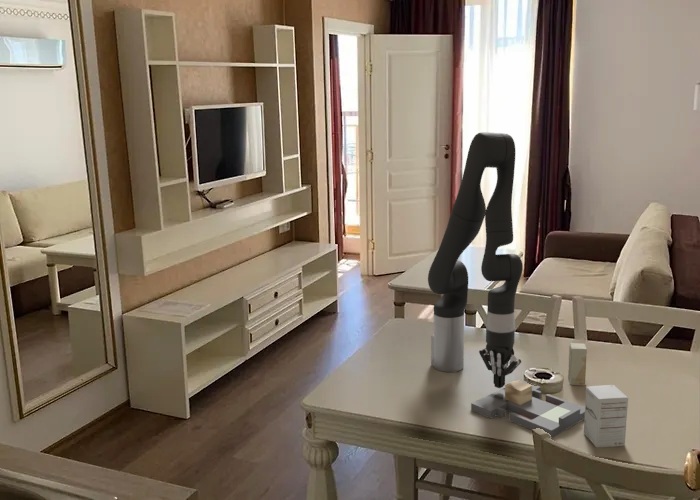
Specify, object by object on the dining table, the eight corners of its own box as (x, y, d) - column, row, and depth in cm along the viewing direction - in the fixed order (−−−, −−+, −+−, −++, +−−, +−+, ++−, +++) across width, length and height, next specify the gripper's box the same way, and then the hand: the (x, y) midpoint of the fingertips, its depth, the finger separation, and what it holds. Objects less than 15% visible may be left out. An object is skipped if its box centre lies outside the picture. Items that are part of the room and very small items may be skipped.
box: (585, 386, 197) (587, 349, 195) (569, 385, 198) (571, 348, 195) (583, 378, 202) (584, 343, 200) (567, 377, 203) (569, 342, 200)
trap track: (471, 410, 184) (471, 398, 183) (521, 386, 198) (521, 375, 197) (545, 441, 167) (545, 428, 166) (594, 413, 181) (595, 400, 180)
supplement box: (582, 433, 170) (585, 385, 168) (611, 431, 171) (614, 383, 168) (595, 448, 163) (598, 398, 160) (625, 446, 164) (629, 396, 161)
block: (504, 399, 186) (505, 385, 185) (516, 393, 189) (516, 379, 188) (520, 405, 182) (520, 390, 181) (531, 399, 185) (532, 385, 184)
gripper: (529, 329, 183) (527, 390, 187) (489, 318, 193) (488, 376, 197) (512, 336, 179) (510, 398, 182) (472, 324, 188) (471, 383, 192)
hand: (499, 386), depth 190 cm, fingers closed
